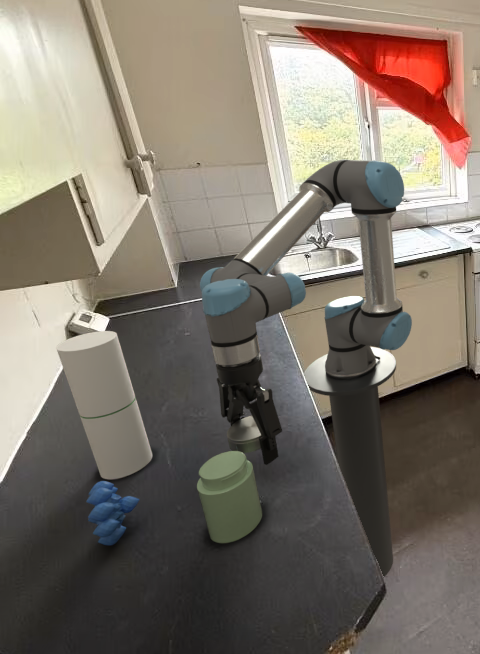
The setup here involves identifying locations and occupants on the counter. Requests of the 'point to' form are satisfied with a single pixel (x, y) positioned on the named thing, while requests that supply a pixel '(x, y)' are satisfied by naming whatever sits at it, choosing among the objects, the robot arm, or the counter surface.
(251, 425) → the flask lid
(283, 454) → the counter surface
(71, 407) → the counter surface
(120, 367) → the container
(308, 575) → the counter surface
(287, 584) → the counter surface
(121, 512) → the grapes
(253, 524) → the flask
